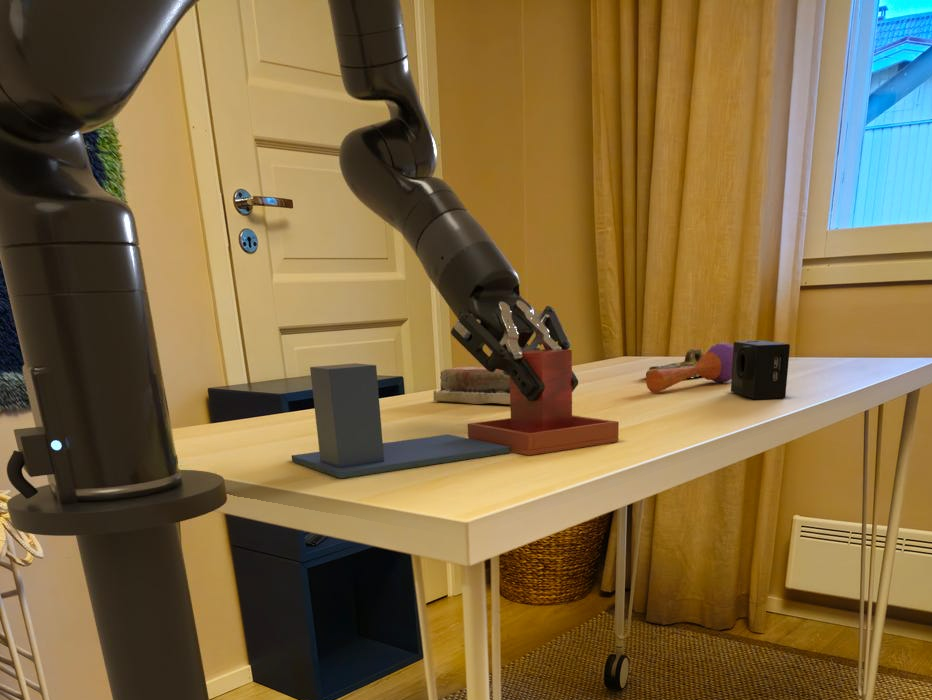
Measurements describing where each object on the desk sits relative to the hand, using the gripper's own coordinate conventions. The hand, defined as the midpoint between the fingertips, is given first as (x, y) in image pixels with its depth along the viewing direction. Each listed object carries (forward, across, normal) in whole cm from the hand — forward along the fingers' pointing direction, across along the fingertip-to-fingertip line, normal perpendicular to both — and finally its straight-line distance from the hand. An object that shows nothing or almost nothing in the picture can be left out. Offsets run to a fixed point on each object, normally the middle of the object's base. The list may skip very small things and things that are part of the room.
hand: (555, 392), depth 86 cm
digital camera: (+1, +45, +6) cm, 46 cm away
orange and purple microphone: (-8, +52, +16) cm, 55 cm away
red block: (+2, 0, +5) cm, 5 cm away
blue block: (-2, -20, +8) cm, 22 cm away
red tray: (+2, 0, +5) cm, 5 cm away
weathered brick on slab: (-20, +25, +27) cm, 42 cm away
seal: (-17, +65, +24) cm, 71 cm away
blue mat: (-2, -14, +9) cm, 17 cm away
